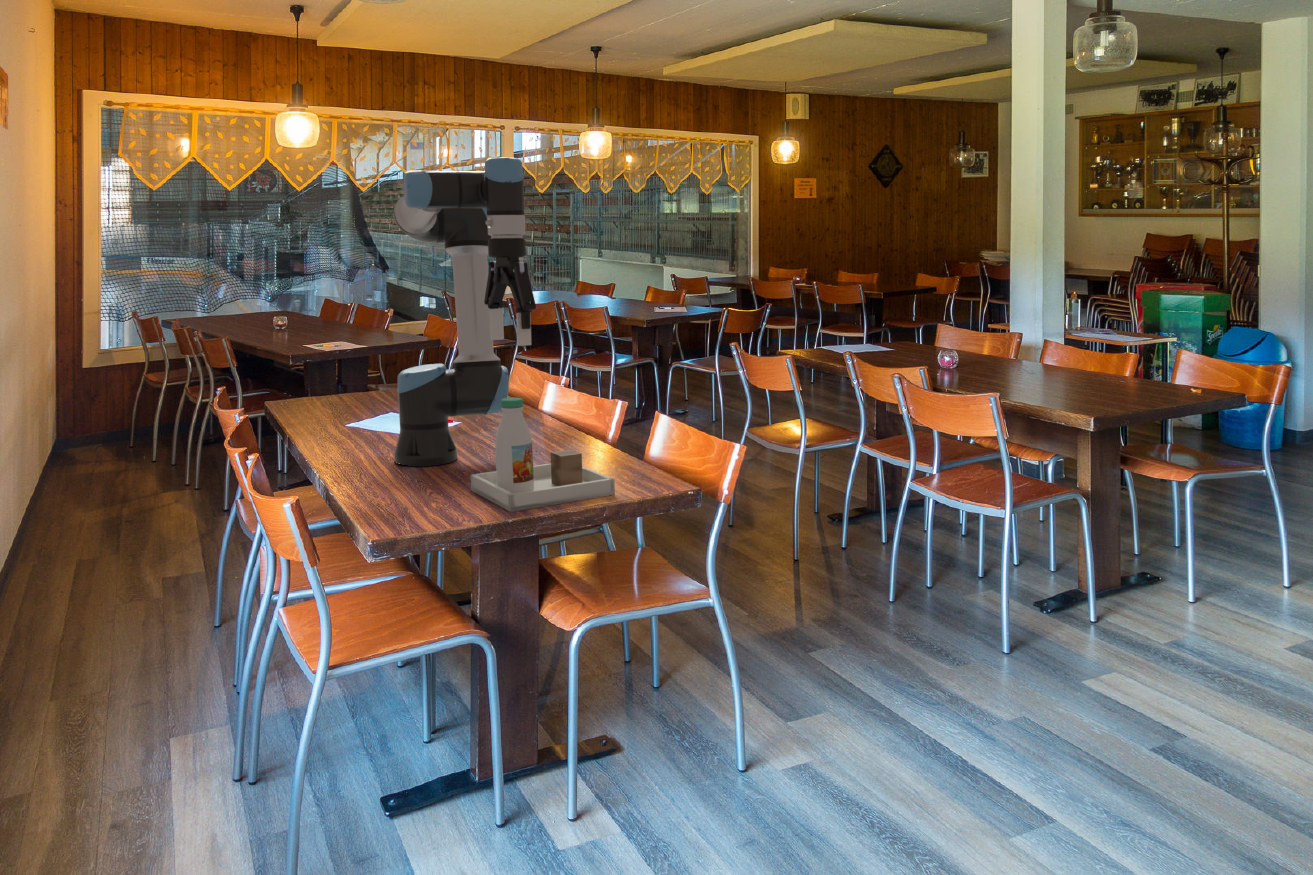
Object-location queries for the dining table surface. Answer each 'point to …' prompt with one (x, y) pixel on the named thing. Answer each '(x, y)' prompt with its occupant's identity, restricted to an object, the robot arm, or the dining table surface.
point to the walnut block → (566, 467)
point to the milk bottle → (514, 449)
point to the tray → (543, 489)
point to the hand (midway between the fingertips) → (510, 342)
